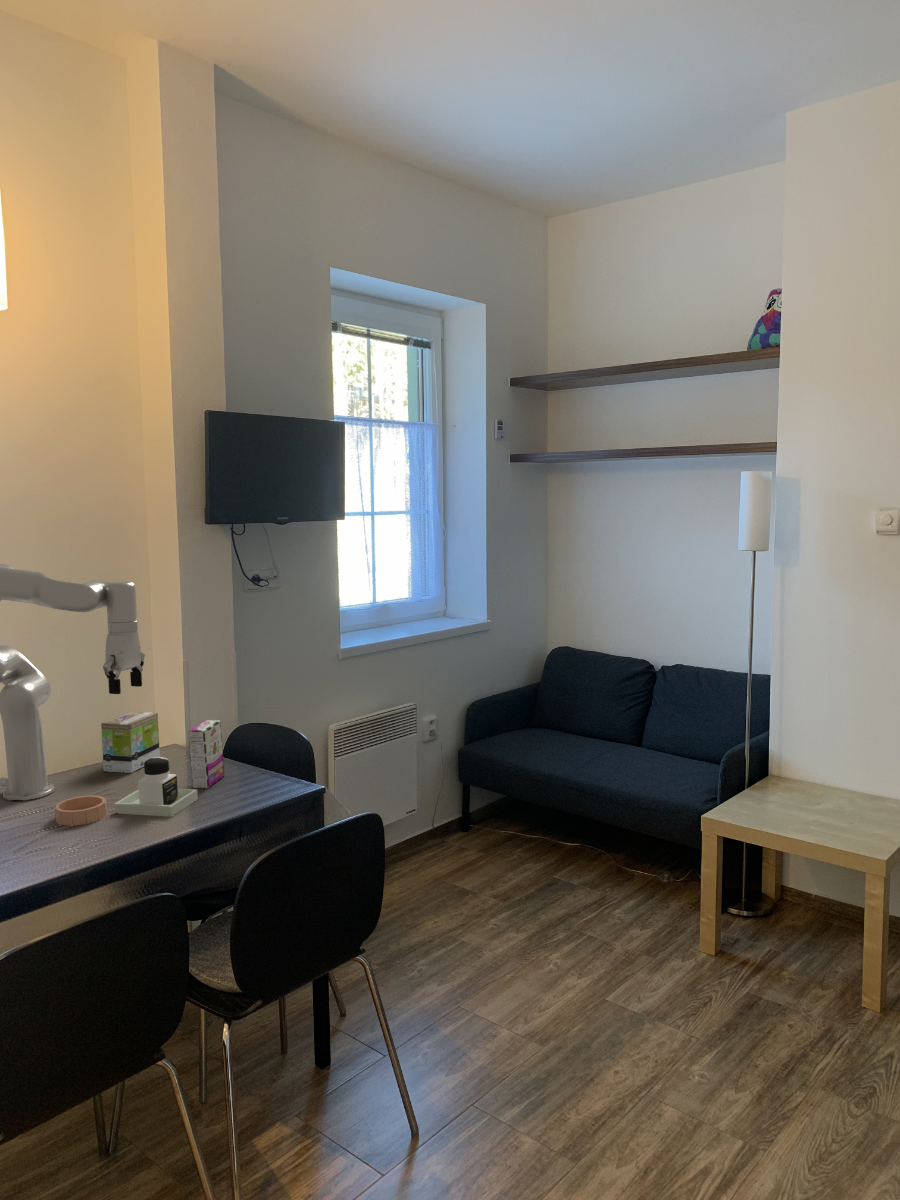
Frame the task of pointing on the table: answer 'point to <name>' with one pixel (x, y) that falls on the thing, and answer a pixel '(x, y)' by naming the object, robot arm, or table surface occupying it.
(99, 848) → the table surface
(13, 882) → the table surface
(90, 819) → the faceted tan ring
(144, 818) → the table surface
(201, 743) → the candy bar box
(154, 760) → the medicine bottle
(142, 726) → the tea box
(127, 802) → the tray
